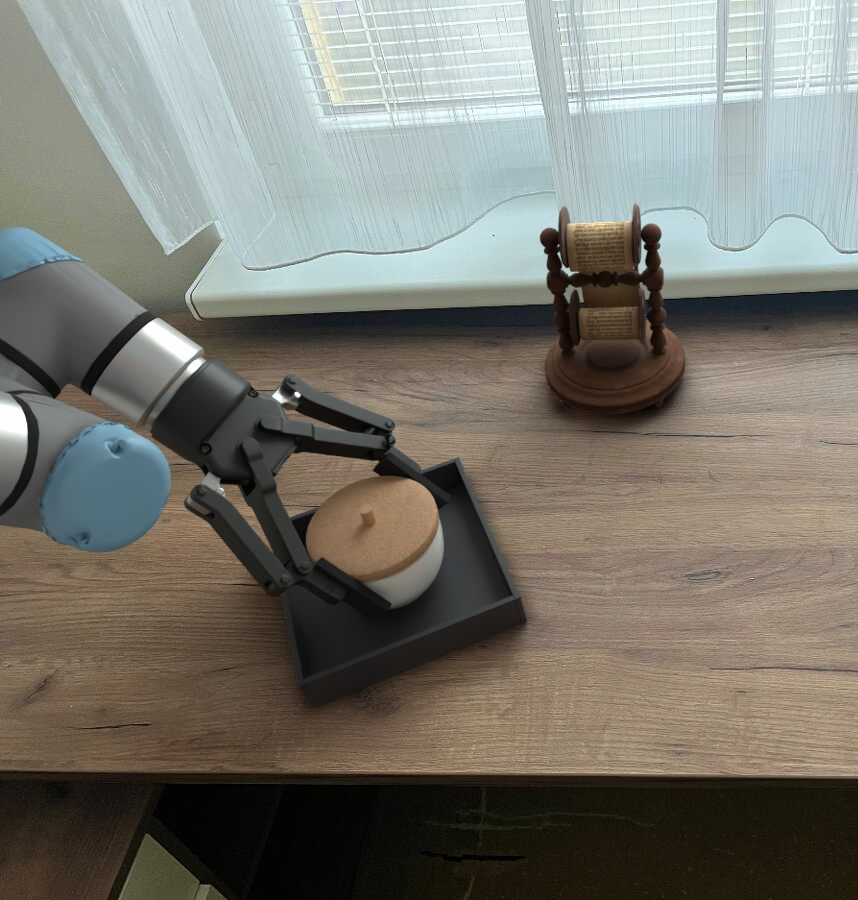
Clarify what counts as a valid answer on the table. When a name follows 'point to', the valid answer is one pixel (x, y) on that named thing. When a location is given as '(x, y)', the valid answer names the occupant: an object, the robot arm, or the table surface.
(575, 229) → the scroll
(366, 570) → the trinket box
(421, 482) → the robot arm
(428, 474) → the tray
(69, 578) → the table surface
